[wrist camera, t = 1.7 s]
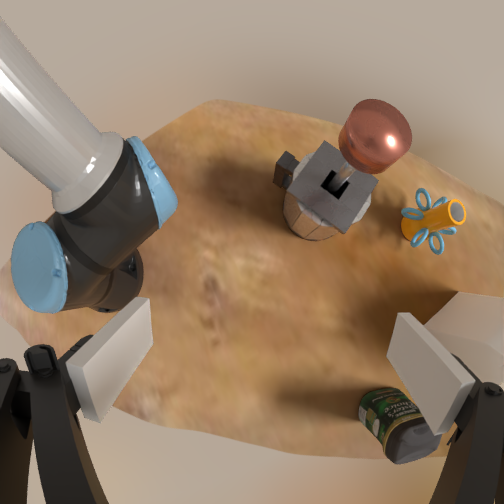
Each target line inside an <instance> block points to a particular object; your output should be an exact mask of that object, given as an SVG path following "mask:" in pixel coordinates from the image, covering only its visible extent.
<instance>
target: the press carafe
mask: <svg viewBox="0 0 504 504" xmlns="http://www.w3.org/2000/svg"><path fill="white" fill-rule="evenodd" d="M345 162H346V160H345V158H344V157H343V155H342V153H341V151H339V150H338V149H336V148H335V147H333V146H332V145H331V144H329V143H328V142H326V141H325V140H324V142H323V143H322V144H321V146H320V147H319V148H318V150H317V151H316V152H313V153H310V154H308V155H306V156H305V157H304V158H303V159H302V161H301V162H299V161H297V160H296V159H295V157H294V156H293V155H292V154H290V153H289V152H287V151H285V152H284V154H283V155H282V156H281V157H280V159H279V160H278V161H277V162H276V167H275V173H274V179H273V183H274V184H276V185H277V186H279V187H280V188H281V187H283V188H284V189H285V190H287V191H286V195H285V199H284V203H283V215H284V219H285V221H286V223H287V225H288V227H289V228H290V229H291V231H292V232H293V233H295V234H296V235H297V236H299V237H301V238H303V239H306V240H310V241H320V240H324V239H327V238H329V237H331V236H332V235H334V234H336V233H338V232H340V233H342V234H345V233H346V231H347V230H348V228H349V227H350V226H351V225H352V224H354V223H356V222H358V221H359V220H361V218H362V217H363V215H364V213H365V212H366V210H367V209H368V207H369V206H370V203H371V192H372V191H373V189H374V188H375V186H376V184H377V183H378V181H379V180H377V179H376V178H375V177H374V176H372V175H371V174H367V173H363V172H361V171H359V170H357V169H356V170H355V171H354V172H353V174H352V175H351V176H350V177H349V178H348V179H347V180H346V181H345V182H344V183H343V185H342V186H341V187H340V188H339V189H338V190H337V191H336V192H335V193H334V194H333V195H331V194H330V193H329V192H327V191H326V190H325V188H326V187H327V186H328V185H329V183H330V182H331V181H332V179H333V178H334V177H335V175H336V174H337V173H338V171H339V170H340V169H341V167H342V166H343V165H344V163H345ZM289 175H291V176H292V177H290V176H289Z"/></svg>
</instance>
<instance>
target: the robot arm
mask: <svg viewBox="0 0 504 504" xmlns="http://www.w3.org/2000/svg"><path fill="white" fill-rule="evenodd" d="M0 147H1V148H2V149H3V150H4V151H5V152H6V153H7V154H9V155H10V156H11V157H12V158H13V159H14V160H16V161H17V162H18V163H19V164H20V165H21V166H22V167H23V168H25V169H26V170H27V171H28V172H29V173H31V174H32V175H33V176H34V177H35V178H37V179H38V180H39V181H40V182H41V183H43V184H44V185H45V186H46V187H47V188H49V189H50V190H51V191H52V202H53V208H54V209H55V210H56V212H55V214H54V215H53V216H52V217H51V218H50V219H49V221H48V222H47V223H44V222H40V221H39V222H36V223H30V224H28V225H26V226H25V227H24V228H23V229H22V230H21V231H20V232H19V234H18V236H17V238H16V240H15V242H14V245H13V249H12V255H11V273H12V279H13V283H14V286H15V289H16V291H17V293H18V295H19V297H20V299H21V300H22V301H23V303H24V304H25V305H26V306H27V307H28V308H30V309H31V310H34V311H36V312H40V313H52V314H53V313H56V312H59V311H65V310H71V309H77V308H83V307H89V308H91V309H93V310H95V311H98V312H103V313H111V312H116V311H120V310H121V311H120V312H119V313H118V314H117V315H115V316H114V317H113V318H112V319H111V320H110V321H109V322H108V323H107V324H106V325H105V326H104V327H102V328H101V329H100V330H99V331H98V332H97V333H96V334H95V335H88V336H86V337H84V338H82V339H80V340H79V341H78V342H77V343H76V344H75V346H73V347H71V348H70V350H68V351H67V352H66V353H65V354H64V355H63V356H62V357H61V358H60V359H58V360H57V357H56V354H55V351H54V348H53V347H51V346H49V345H45V344H41V345H35V346H32V347H30V348H28V349H27V350H26V351H25V353H24V358H25V361H26V364H27V367H28V370H29V372H28V371H21V370H19V369H18V366H17V364H16V362H15V361H14V360H13V359H9V358H6V359H4V358H3V359H0V504H27V487H28V486H27V485H28V474H29V465H30V456H31V450H32V443H33V438H34V446H35V452H36V459H37V465H38V470H39V475H40V480H41V485H42V489H43V493H44V497H45V501H46V504H109V503H108V501H107V499H106V496H105V494H104V492H103V489H102V487H101V485H100V482H99V480H98V478H97V475H96V472H95V469H94V467H93V464H92V461H91V458H90V456H89V453H88V450H87V447H86V444H85V440H84V437H83V434H82V430H81V427H80V423H79V420H78V417H77V414H76V413H77V411H78V410H79V409H80V408H81V410H82V412H83V415H84V418H87V419H90V420H92V421H96V422H98V423H101V421H102V420H103V418H104V417H105V415H106V414H107V412H108V411H109V409H110V408H111V406H112V405H113V403H114V402H115V400H116V399H117V397H118V395H119V394H120V392H121V391H122V389H123V388H124V386H125V385H126V383H127V382H128V380H129V379H130V377H131V376H132V374H133V373H134V371H135V370H136V368H137V367H138V366H139V364H140V363H141V361H142V360H143V358H144V357H145V355H146V354H147V352H148V351H149V349H150V348H151V346H152V345H153V336H152V326H151V314H150V301H149V298H143V297H137V296H138V294H139V292H140V289H141V287H142V283H143V263H142V259H141V256H140V254H139V252H138V250H137V247H139V246H140V245H141V244H142V243H143V242H144V241H145V240H146V239H147V238H149V237H150V236H151V235H152V234H153V233H154V232H155V231H156V230H158V229H160V228H161V227H162V224H163V223H164V222H165V221H166V220H167V219H168V218H169V217H170V216H171V215H172V214H173V213H174V212H175V210H176V208H177V205H178V200H177V197H176V194H175V193H174V191H173V189H172V187H171V186H170V184H169V182H168V181H167V179H166V177H165V176H164V174H163V173H162V171H161V170H160V168H159V167H158V165H157V164H156V163H155V161H154V159H153V158H152V156H151V154H150V153H149V151H148V150H147V148H146V147H145V146H144V144H143V143H142V142H141V140H140V139H139V138H138V137H136V136H133V137H131V138H128V139H126V141H125V140H124V139H123V138H122V137H121V136H120V135H119V134H118V133H116V132H104V133H100V132H99V131H98V130H97V129H96V128H95V126H93V124H92V123H91V122H90V121H89V120H88V119H87V118H86V117H85V115H84V114H83V113H82V112H81V111H80V110H79V109H78V108H77V106H76V105H75V104H74V103H73V102H72V101H71V100H70V98H69V97H68V96H67V95H66V94H65V93H64V92H63V91H62V89H61V88H60V87H59V86H58V85H57V84H56V83H55V82H54V80H53V79H52V78H51V77H50V76H49V75H48V73H47V72H46V71H45V70H44V69H43V67H42V66H41V65H40V64H39V63H38V62H37V61H36V60H35V58H34V57H33V56H32V55H31V53H30V52H29V51H28V50H27V49H26V47H25V46H24V45H23V44H22V43H21V41H20V40H19V39H18V38H17V37H16V35H15V34H14V33H13V32H12V30H11V29H10V28H9V27H8V25H7V24H6V23H5V22H4V21H3V19H2V18H1V17H0ZM386 357H387V358H388V360H389V361H390V363H391V364H392V366H393V368H394V369H395V371H396V372H397V374H398V375H399V377H400V379H401V380H402V382H403V383H404V385H405V387H406V388H407V390H408V392H409V393H410V395H411V397H412V398H413V400H414V401H415V403H416V405H417V406H418V408H419V410H420V412H421V413H422V415H423V417H424V418H425V420H426V422H427V424H428V425H429V427H430V429H431V430H432V432H433V434H434V436H435V435H438V434H442V433H446V432H448V431H449V429H450V428H451V426H452V424H453V423H454V421H455V423H456V424H457V426H458V427H457V429H456V430H455V432H454V434H453V435H452V437H451V438H450V440H449V441H448V443H447V445H449V444H450V442H451V445H450V449H449V452H448V455H447V458H446V461H445V465H444V467H443V470H442V473H441V476H440V478H439V481H438V483H437V486H436V488H435V491H434V493H433V496H432V498H431V500H430V503H429V504H494V499H495V504H504V391H503V389H502V388H501V387H500V386H499V385H497V384H495V383H492V382H484V383H482V382H481V381H480V379H479V378H478V377H477V376H476V375H475V374H474V373H473V372H472V371H471V370H470V369H468V367H467V366H466V365H465V364H464V362H463V361H462V360H461V359H460V358H459V357H457V356H455V355H454V354H452V353H450V352H449V351H448V350H447V349H446V348H445V347H444V346H443V345H442V344H441V343H440V342H439V341H438V340H437V339H436V338H435V337H434V336H433V335H432V334H431V333H430V332H429V331H428V330H427V329H426V328H425V327H424V326H423V325H422V324H421V323H420V322H419V321H418V320H417V319H416V318H415V317H414V316H413V315H412V314H411V313H398V315H397V319H396V323H395V327H394V330H393V334H392V338H391V342H390V345H389V349H388V352H387V355H386Z"/></svg>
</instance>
